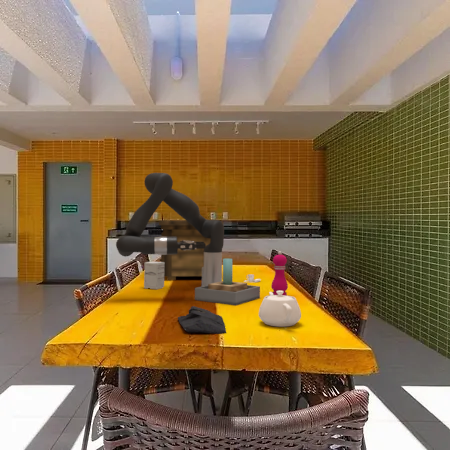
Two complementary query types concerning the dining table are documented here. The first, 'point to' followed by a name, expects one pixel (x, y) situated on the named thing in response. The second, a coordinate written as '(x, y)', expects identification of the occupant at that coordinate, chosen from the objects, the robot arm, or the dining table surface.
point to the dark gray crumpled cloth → (202, 321)
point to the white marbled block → (154, 275)
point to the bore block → (228, 286)
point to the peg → (227, 271)
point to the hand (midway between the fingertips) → (204, 244)
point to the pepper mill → (279, 274)
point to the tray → (227, 295)
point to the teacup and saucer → (251, 278)
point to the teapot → (279, 310)
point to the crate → (184, 259)
